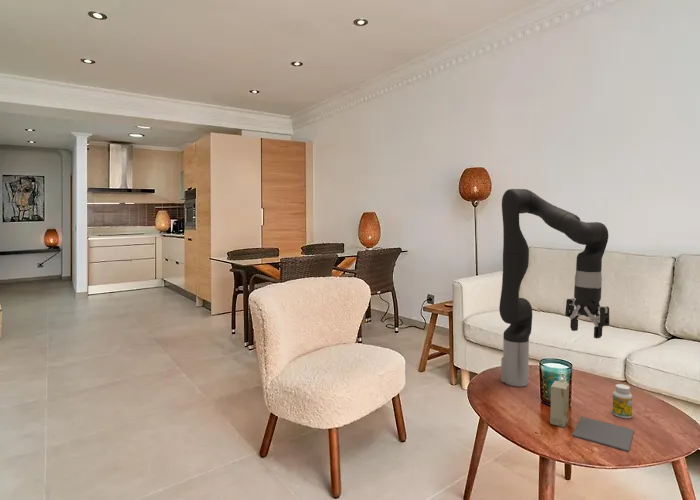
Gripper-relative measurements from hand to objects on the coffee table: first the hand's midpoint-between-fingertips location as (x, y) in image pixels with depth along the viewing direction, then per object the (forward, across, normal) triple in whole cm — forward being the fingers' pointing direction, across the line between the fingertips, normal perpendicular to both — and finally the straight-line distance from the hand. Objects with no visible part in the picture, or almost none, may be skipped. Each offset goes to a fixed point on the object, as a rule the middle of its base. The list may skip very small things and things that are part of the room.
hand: (585, 334), depth 135 cm
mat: (+27, +12, -5) cm, 30 cm away
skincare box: (+27, +2, -11) cm, 29 cm away
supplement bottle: (+27, +6, +11) cm, 30 cm away
